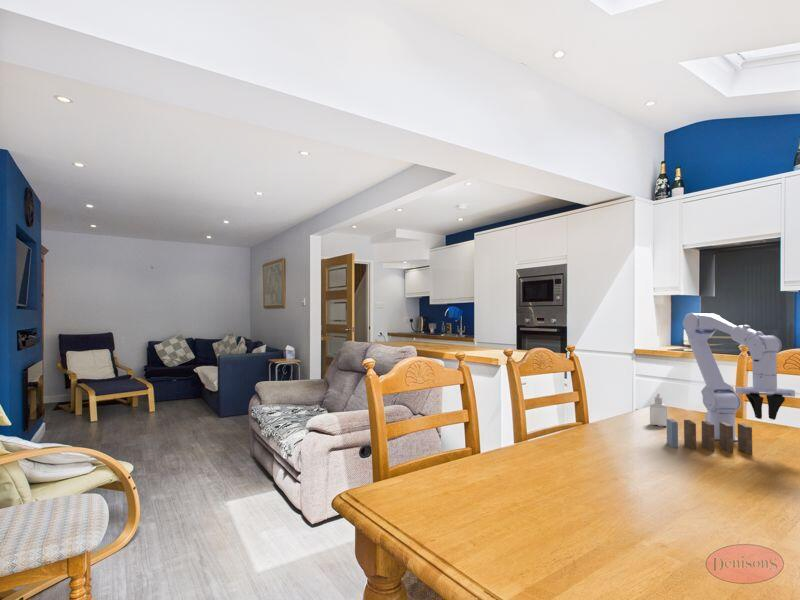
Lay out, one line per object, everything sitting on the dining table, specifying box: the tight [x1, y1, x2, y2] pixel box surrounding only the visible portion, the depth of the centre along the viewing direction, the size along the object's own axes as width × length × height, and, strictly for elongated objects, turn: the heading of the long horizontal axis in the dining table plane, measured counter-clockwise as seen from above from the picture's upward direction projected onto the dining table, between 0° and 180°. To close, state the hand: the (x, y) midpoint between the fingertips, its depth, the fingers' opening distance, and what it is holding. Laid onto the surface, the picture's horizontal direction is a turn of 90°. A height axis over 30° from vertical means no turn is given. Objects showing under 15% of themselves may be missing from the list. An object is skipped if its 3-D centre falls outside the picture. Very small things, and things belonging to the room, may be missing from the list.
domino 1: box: [666, 418, 679, 449], centre depth 138 cm, size 2×5×8 cm, turn 165°
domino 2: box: [683, 419, 697, 450], centre depth 137 cm, size 2×5×8 cm, turn 165°
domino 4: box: [719, 422, 734, 453], centre depth 134 cm, size 2×5×8 cm, turn 166°
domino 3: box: [701, 420, 716, 452], centre depth 136 cm, size 2×5×8 cm, turn 166°
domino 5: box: [737, 422, 753, 455], centre depth 133 cm, size 2×5×8 cm, turn 165°
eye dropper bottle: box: [649, 393, 668, 427], centre depth 163 cm, size 4×6×12 cm
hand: (765, 418), depth 132 cm, fingers open, 3 cm apart
